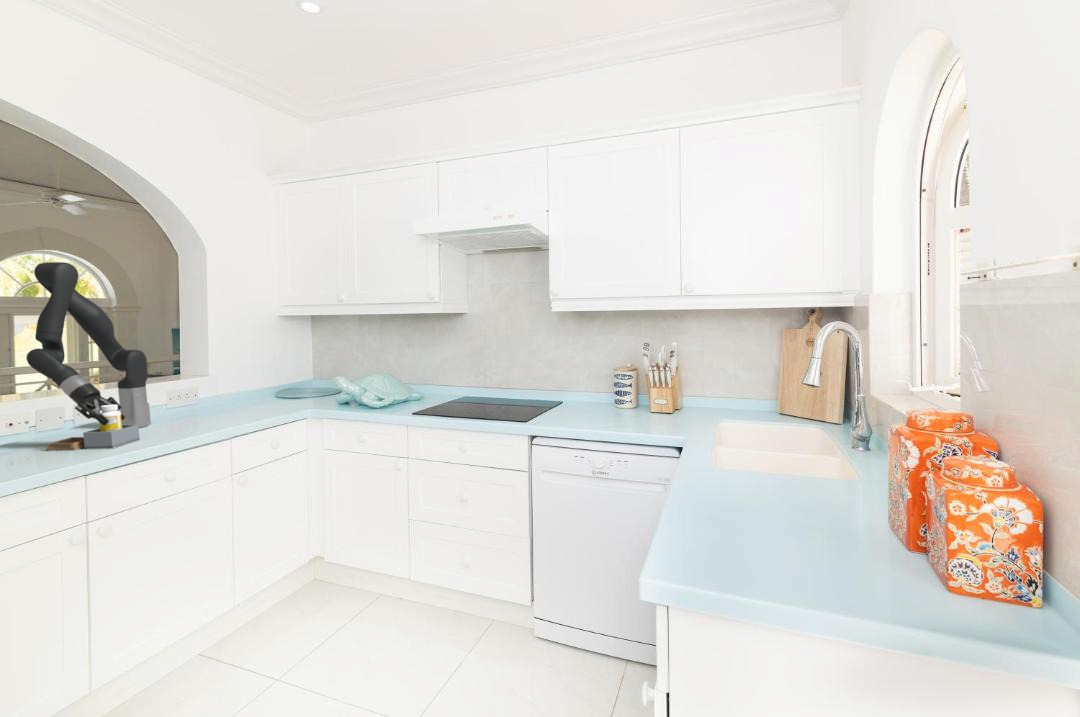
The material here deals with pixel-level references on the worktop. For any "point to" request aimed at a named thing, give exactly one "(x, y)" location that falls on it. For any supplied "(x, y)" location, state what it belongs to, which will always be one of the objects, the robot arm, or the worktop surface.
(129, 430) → the bin
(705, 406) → the worktop surface
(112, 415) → the supplement bottle
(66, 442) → the wooden tray
